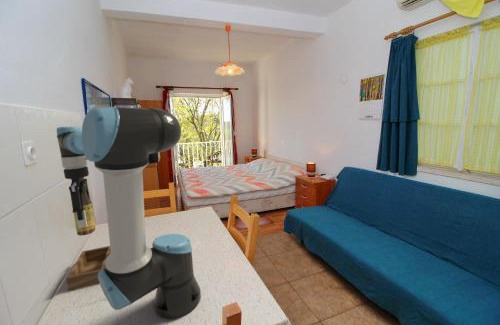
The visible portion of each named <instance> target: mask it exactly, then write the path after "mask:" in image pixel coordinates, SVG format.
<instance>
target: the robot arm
mask: <svg viewBox="0 0 500 325" xmlns="http://www.w3.org/2000/svg"><path fill="white" fill-rule="evenodd" d="M81 126H82V127H80V126H58V127H57V128H56V138H57V142H58V146H59V152H60V153H59V154H60V159H61V164H62V168H63V175H64V178H65V179H66V180H71V182H70V186H68V189H69V190H68V191H69V194H70V198H71V199H70V200H71V206H72V214H74V213H75V212H76V217H77V222H78V228H82V227H87V221H86V215H85V210H84V209H83V195H82V194H83V193H84V184H86V186H87V187H86V191H87V195H88V197H89V198H90V199H91V196H90V192H89V187H88V185H89V184H88V179H87V177H88V176H89V167H88V166H87V165H88V161H89V162H93V163H94V168H95V169H97V170H98V171H100V172H101V173H102V175H103V176H102V177H103V184H104V196H105V197H104V198H105V206H106V208H105V209H106V215H107V216H106V217H107V227H108V238H109V246H110V250H111V254H109V256H108V257H107V258H106V261H105V269H102V270H101V271H99V273H98V280H99V286H100V288H101V290H102V292H103V294H104V296H105V298H106V300H107V302H108V303H109V306H110V307H111V308H112V309H113V310H115V311H116V310H117V311H120V310H122V309H124V308H126V307H128V306H130V305H132V304H134V303H135V302H137V301H139V300H140V299H142V298H143V297H145V296H147V295H148V294H150V293H152V292H153V291H155V296H154V302H153V303H154V310H155V313H156V314H157V315H158V316H160V318H163V319H178V318H181V317H184V316H186V315H188V314H190V313H191V312H192V311H193V310H195V309H196V308H197V306H198V305H199V304H200V301H201V299H202V298H201V297H202V294H201V287H200V285H199V283H198V281H197V279H196V277H195V275H194V264H193V263H194V262H193V254H192V252H193V248H192V244H191V240H190V237H188V236H187V235H185V234H182V233H181V234H180V233H166V234H163V235H160V236H158V237H156V238H154V240H153V241H152V244H151V245H152V247H151V248H150V247H149V246H147V238H146V220H145V198H144V195H145V194H144V177H143V176H144V175H143V174H144V173H143V172H144V169H145V168H146V167H147V166H148V165H149V163H150V162H149V155H151V154H157V153H162V152H166V151H169V150H170V149H173V148H174V147H175V146H176V145H177V144H178V143H179V141H180V140H181V136H182V127H181V124H180V122H179V120H178V119H177V117H176V116H175V115H174V114H172V113H171V112H169V111H167V110H165V109H161V108H156V107H148V108H147V107H145V108H144V107H121V106H120V107H119V106H118V107H115V106H109V107H105V106H104V107H96V108H95V107H94V108H92V109H90V110H88V112H87V113H86V114H85V116H84V118H83V121H82V125H81ZM79 191H80V192H79ZM91 203H92V201H91ZM92 204H93V203H92ZM77 208H78V209H77Z"/></svg>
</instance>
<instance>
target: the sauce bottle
mask: <svg viewBox="0 0 500 325" xmlns="http://www.w3.org/2000/svg"><path fill="white" fill-rule="evenodd" d="M86 187H87V186H86V184H84V193H83V194H82V195H83V209H84V210H85V215H86V221H87V227H82V228H78V222H77V217H76V212H75V213H73V218H74V224H75V230H76V235H77V236H86V235H89V234H92V233H94V232H95V231H96V222H95V217H94V216H95V214H94V208H93V203H91V202H92V201H91V197H90V198H89V197H88V195H87V191H86ZM79 192H80V191H79ZM77 209H78V208H77Z"/></svg>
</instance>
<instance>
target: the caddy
mask: <svg viewBox="0 0 500 325" xmlns="http://www.w3.org/2000/svg"><path fill="white" fill-rule="evenodd" d="M109 254H111V250H110V245H107V246H101V247H97V248H93V249H88V250H83V251H81V253H80V255H79V257H78V258H77V259H76V261H75V263H74V264H73V266H72V268H71V270H70V272H69V274H68V275H67V277H66V283H67V284H66V285H67V288H68V292H70V291H75V290H78V289H82V288H86V287H91V286H94V285H98V284H99V285H100V283H99V280H98V273H99V271H101V270H102V269H105V261H106V258H107V257H108V256H109Z"/></svg>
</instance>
